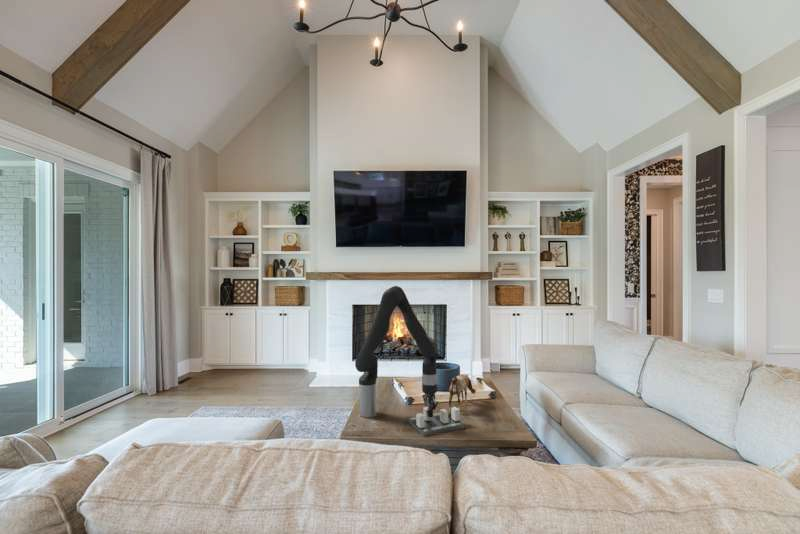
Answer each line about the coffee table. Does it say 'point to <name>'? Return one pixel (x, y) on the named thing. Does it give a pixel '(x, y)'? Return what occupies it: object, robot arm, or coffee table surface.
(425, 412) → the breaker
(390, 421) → the coffee table surface
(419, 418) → the breaker
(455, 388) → the horse figurine
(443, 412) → the breaker
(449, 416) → the panel
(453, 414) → the breaker
